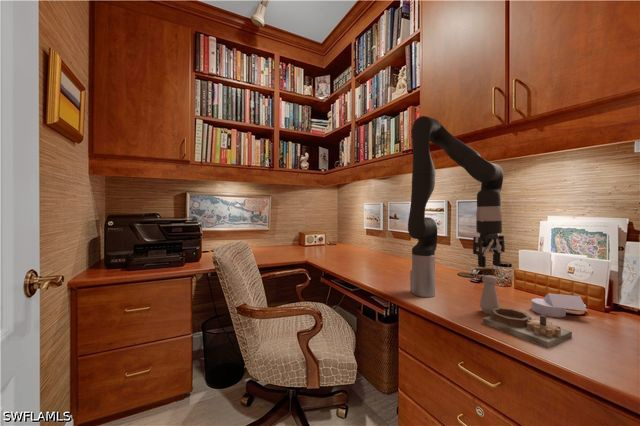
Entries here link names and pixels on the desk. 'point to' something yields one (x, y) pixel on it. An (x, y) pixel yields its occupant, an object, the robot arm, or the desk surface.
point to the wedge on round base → (557, 304)
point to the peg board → (527, 326)
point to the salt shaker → (489, 294)
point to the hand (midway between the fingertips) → (489, 265)
